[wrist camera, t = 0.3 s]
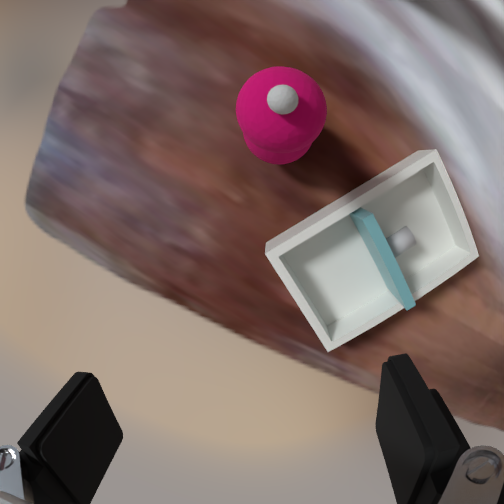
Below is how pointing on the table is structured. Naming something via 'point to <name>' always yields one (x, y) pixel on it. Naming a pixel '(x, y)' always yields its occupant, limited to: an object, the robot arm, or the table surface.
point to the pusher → (386, 253)
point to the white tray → (358, 256)
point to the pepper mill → (280, 114)
